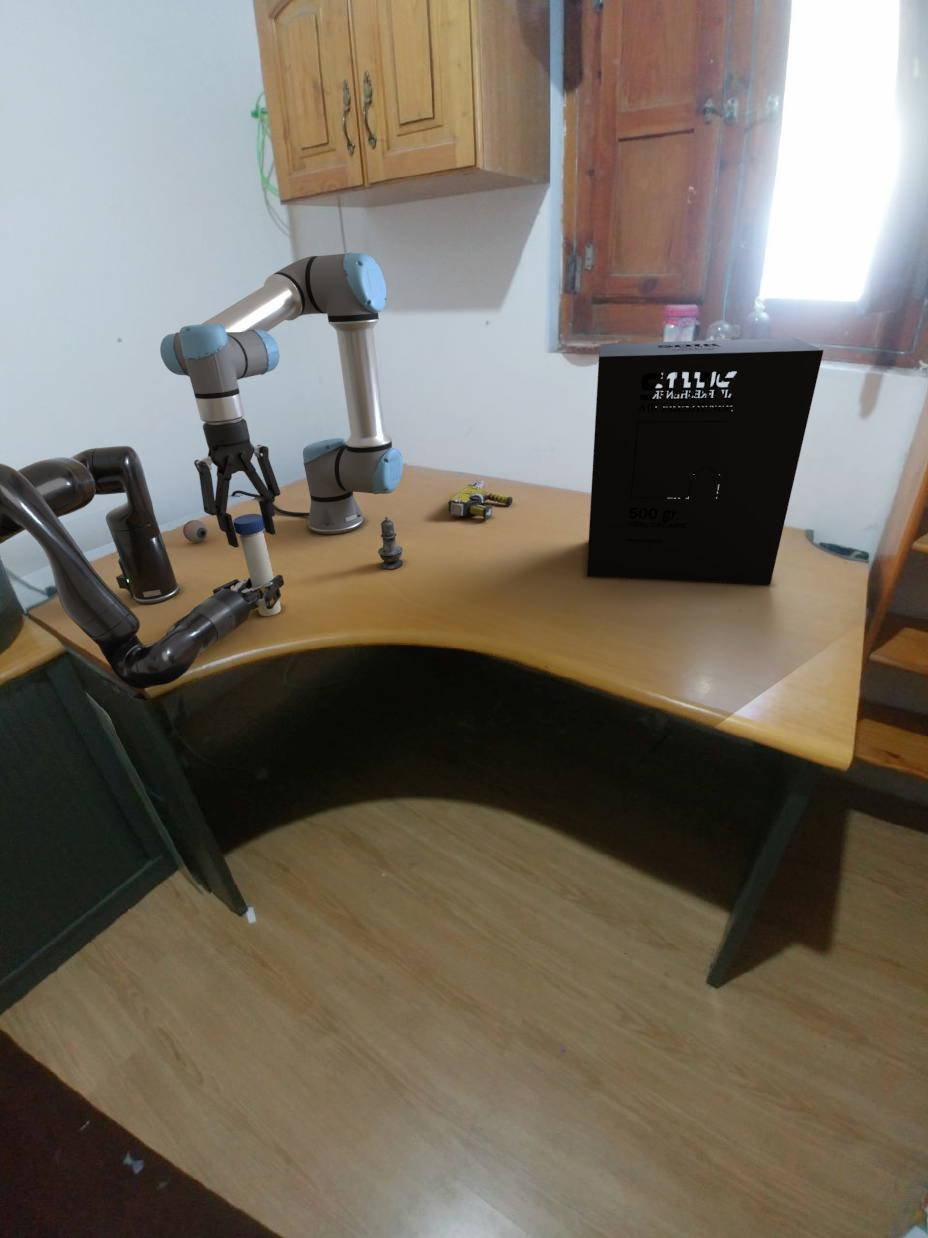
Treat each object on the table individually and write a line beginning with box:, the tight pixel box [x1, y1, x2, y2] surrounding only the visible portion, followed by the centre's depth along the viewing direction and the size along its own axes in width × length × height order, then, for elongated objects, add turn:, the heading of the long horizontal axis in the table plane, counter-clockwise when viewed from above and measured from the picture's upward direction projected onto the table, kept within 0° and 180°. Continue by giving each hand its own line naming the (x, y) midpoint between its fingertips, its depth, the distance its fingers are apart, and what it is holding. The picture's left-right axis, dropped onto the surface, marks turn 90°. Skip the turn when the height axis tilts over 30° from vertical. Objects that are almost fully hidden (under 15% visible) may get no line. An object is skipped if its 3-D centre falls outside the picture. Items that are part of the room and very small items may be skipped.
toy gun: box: [447, 479, 514, 521], centre depth 175 cm, size 5×24×15 cm
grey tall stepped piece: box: [377, 516, 404, 570], centre depth 141 cm, size 6×6×12 cm
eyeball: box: [182, 519, 208, 544], centre depth 162 cm, size 6×6×6 cm
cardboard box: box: [586, 337, 824, 586], centre depth 127 cm, size 38×20×45 cm, turn 78°
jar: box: [238, 530, 282, 617], centre depth 122 cm, size 4×4×20 cm
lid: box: [232, 513, 265, 535], centre depth 118 cm, size 6×6×2 cm
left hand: (270, 577), depth 126 cm, fingers closed on jar, 4 cm apart
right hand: (252, 538), depth 119 cm, fingers open, 7 cm apart
